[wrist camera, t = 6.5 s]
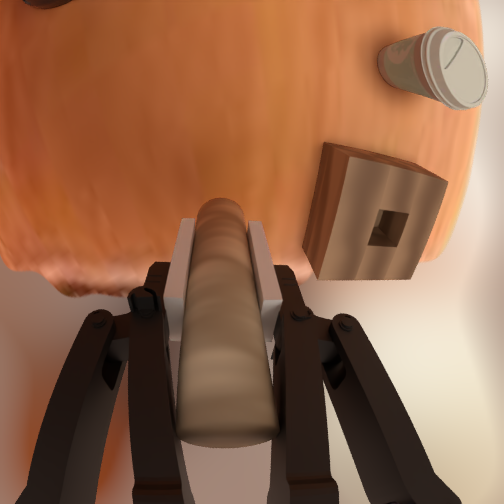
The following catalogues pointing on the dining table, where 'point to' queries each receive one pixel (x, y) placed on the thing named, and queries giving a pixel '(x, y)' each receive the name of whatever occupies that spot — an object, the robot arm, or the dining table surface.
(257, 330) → the dowel
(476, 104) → the coffee cup
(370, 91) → the dining table surface
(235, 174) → the dining table surface
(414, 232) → the bore block
